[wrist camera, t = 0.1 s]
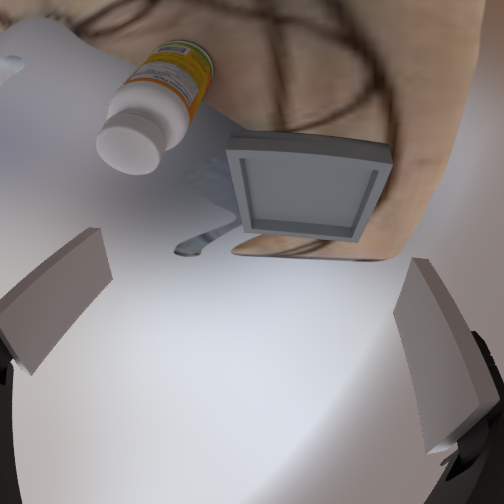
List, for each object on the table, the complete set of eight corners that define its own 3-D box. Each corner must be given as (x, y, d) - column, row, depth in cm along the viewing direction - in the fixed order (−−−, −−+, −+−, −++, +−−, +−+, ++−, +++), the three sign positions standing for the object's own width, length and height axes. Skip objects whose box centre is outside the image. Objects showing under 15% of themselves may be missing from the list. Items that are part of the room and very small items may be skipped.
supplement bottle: (179, 103, 21) (134, 192, 17) (136, 63, 17) (71, 146, 13) (229, 75, 18) (191, 165, 14) (184, 26, 14) (116, 99, 10)
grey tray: (231, 130, 23) (225, 149, 22) (388, 144, 21) (393, 164, 20) (247, 215, 36) (244, 232, 35) (357, 225, 34) (357, 242, 33)
